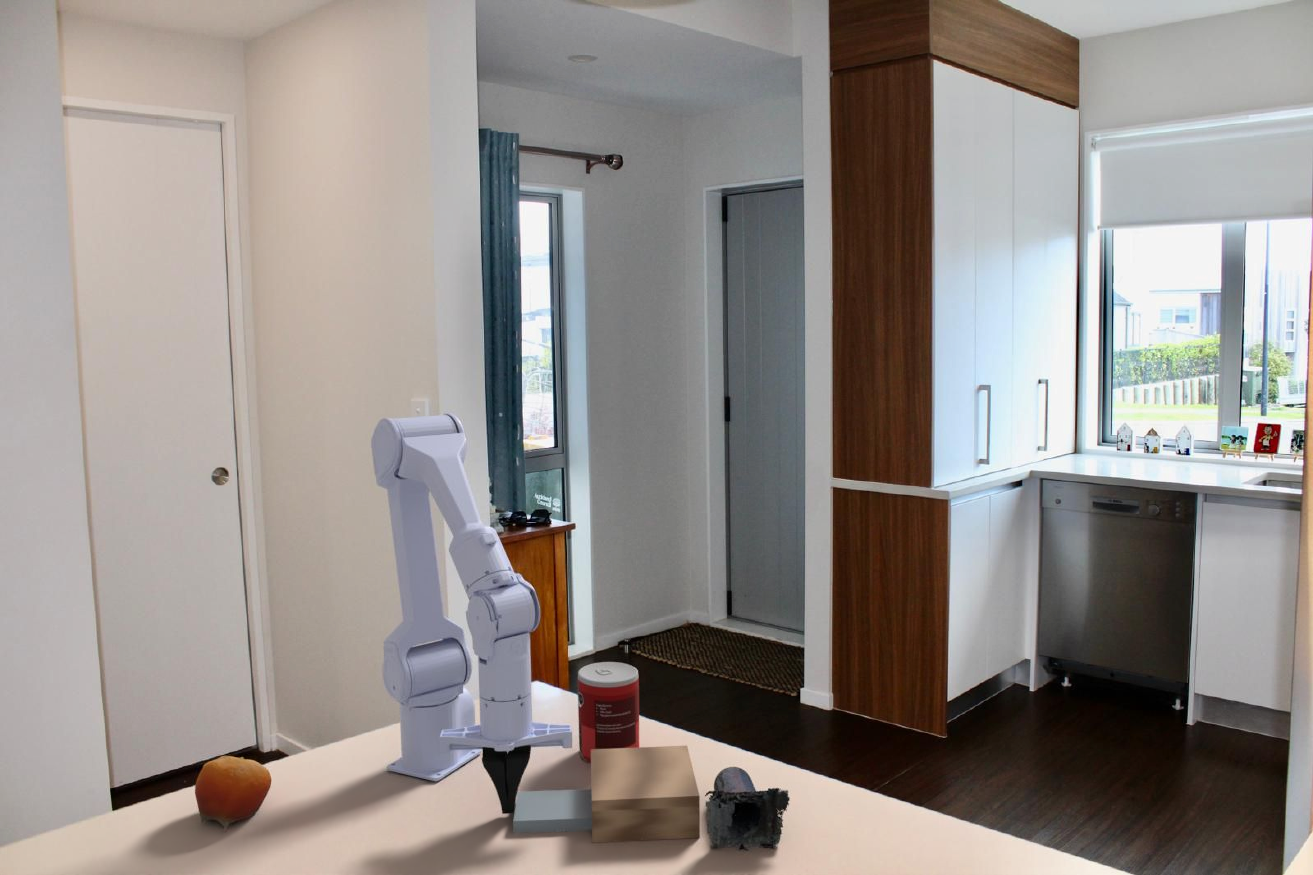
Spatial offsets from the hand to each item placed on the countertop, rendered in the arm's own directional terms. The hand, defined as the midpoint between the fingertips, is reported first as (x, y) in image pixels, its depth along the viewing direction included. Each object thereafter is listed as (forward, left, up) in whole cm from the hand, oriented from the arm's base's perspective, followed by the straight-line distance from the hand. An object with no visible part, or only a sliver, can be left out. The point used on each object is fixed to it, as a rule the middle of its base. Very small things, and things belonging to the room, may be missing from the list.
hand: (508, 809), depth 113 cm
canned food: (-19, +2, -1) cm, 20 cm away
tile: (-4, +6, -1) cm, 7 cm away
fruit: (+13, -29, -1) cm, 31 cm away
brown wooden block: (-7, +13, -1) cm, 15 cm away
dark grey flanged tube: (-10, +24, -1) cm, 26 cm away
